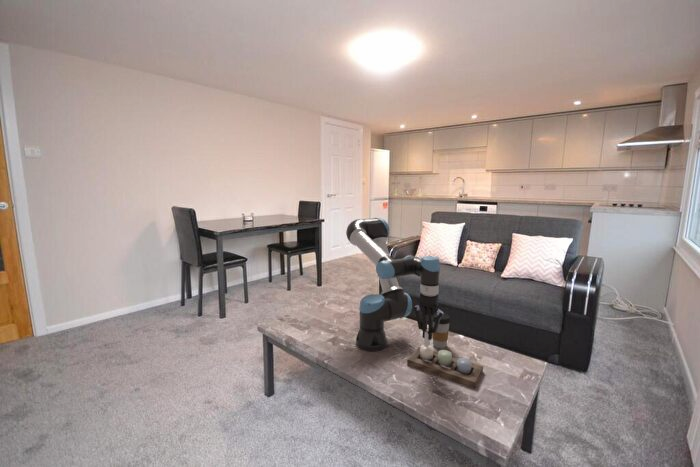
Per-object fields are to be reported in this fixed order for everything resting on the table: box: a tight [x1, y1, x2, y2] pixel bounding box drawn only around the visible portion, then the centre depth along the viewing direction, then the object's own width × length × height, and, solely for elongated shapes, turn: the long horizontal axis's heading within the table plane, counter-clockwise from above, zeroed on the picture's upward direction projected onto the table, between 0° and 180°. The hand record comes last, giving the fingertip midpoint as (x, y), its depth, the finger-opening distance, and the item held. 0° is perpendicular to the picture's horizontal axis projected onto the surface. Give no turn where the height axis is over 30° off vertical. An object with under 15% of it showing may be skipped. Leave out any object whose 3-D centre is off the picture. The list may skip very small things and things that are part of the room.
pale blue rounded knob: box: [456, 357, 473, 375], centre depth 131 cm, size 6×6×4 cm
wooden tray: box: [406, 346, 484, 389], centre depth 136 cm, size 28×13×2 cm, turn 56°
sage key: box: [437, 349, 453, 367], centre depth 135 cm, size 6×6×4 cm
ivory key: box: [419, 344, 434, 361], centre depth 140 cm, size 6×6×4 cm
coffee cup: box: [432, 312, 451, 350], centre depth 153 cm, size 8×8×15 cm
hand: (427, 345), depth 139 cm, fingers closed
